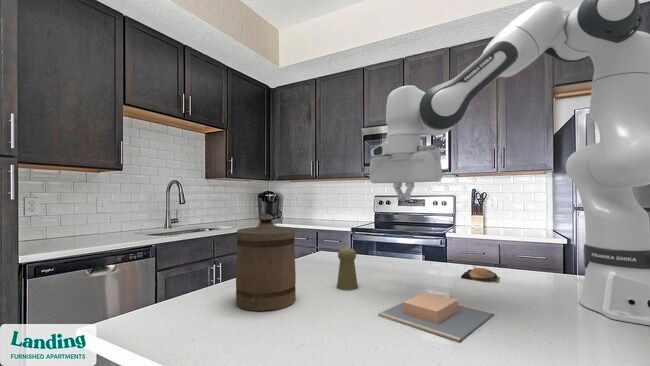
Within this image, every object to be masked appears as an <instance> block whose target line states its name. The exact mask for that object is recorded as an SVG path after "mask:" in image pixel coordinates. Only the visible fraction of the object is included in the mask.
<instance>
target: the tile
mask: <svg viewBox="0 0 650 366" xmlns="http://www.w3.org/2000/svg"><path fill="white" fill-rule="evenodd" d="M402 303H403V314H407V315H410V316H413V317H416V318H420V319H423V320H426V321H429V322H433V323H436V324H438V323H440V322H441V321H443V320H444V319H446V318H448V317H449V316H451V315H452V314H454V313H456V312H457V311H458V304H459V300H458V299H457V298H452V297H448V296H444V295H439V294H435V293H431V292H428V291H424V292H422V293H420V294H417V295H416V296H414V297H411V298H409V299H407V300H405V301H403V302H402Z"/></svg>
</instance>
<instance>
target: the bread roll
mask: <svg viewBox="0 0 650 366" xmlns="http://www.w3.org/2000/svg"><path fill="white" fill-rule="evenodd" d="M500 277H501V276H499V275H497V273H495V272H494V271H492V270H490V269H487V268H483V267H475V268H473V269H468V270H466V271H464V273H462V274H461V276H460V279H461V280H466V281H467V280H468V281H476V282H481V283H482V282H484V283H493V284H499V283H500Z"/></svg>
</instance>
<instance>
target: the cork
mask: <svg viewBox="0 0 650 366" xmlns="http://www.w3.org/2000/svg"><path fill="white" fill-rule="evenodd" d="M356 257H357V252H356V250H355V249H354V248H349V247H345V248H341V249H339V250H338V252H337V258H338V259H339V265H338V266H339V267H338V272H337V273H338V275H337V282H336V283H337V284H336V288H337V289H338V290H342V291H355V290H357V289H358V287H359V286H358V279H357V272H356V271H357V270H356V265H355V260H356Z"/></svg>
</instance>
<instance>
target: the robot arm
mask: <svg viewBox="0 0 650 366" xmlns="http://www.w3.org/2000/svg"><path fill="white" fill-rule="evenodd" d="M640 13H641V4H640V1H639V0H582V2H581V3H580V4H579V5H577V7H575V8H574V9H573V10H572V11H571V10H564V8H563V7H562V6H561V5H560V4H558V3H556V2H554V1H548V0H547V1H541V2H538V3H536V4H534V5H533V6H532V7H529V8H528V9H527V10H525V11H523V12H522V13H521V14H520V15H517V17H515V18H514V19H513V20H511V22H509V23H508V24H507V25H506V26H505V27H503V28H502V29H501V30H500V31H499V32H498V33H497V34H495V36H493V38H492V39H491V41H490V42H489V43H488V44H487V46H485V48H484V49H483V52H482V54H481V55H480V56H479V57H478V58H476V60H474V61H472V63H471V64H469V66H468V65H467V67H465V69H464V70H463V71H462V72H460V73H459V74H458V75H457V76H455V77H454V78H452V79H450V80H448V81H445V82H443V83H440V84H436V85H434V86H433V87H431V88H429V89H428V90H427V91H426V92H425V91H423V90H422V89H419V88H418V87H417V86H416V85H413V84H411V85H409V84H408V85H402V86H399V87H397V88H395V89H393V90H392V91H391V92H390V93H389V95H388V96H387V99H386V100H387V101H386V107H385V111H386V112H385V123H386V127H387V133H386V137H385V140H386V141H384V142H381V144H379V145H377V146H376V147H373V148H372V149H371V150H370V157H372V158H371V160H370V163H369V180H370V181H371V183H372V184H392V185H393V187H392V188H393V189H394V191H395V192H396V194H397V197H396V198H397V199H396V200H398V201H411V193H412V192H413V190H414V188H415V183H437V182H438V183H440V182H441V180H442V179H443V167H442V163H441V159H442V150H441V149H440V148H439V147H438V146H436V145H435V144H429V145H421V134H423V135H427V136H428V135H429V136H430V135H431V136H440V135H444V134H446V133H448V132H449V131H450V130H451V129H452V128H453V127H454V126H455V125H457V124H458V123H459V122H460V121H461V120H462V119H463V117H464V115H465V113H466V112H467V109H468V107H469V105H470V103H471V101H472V100H473V99H474V98H475V97H476V96H477V95H479V94H480V93H481V92H482V91H483V90H485V89H486V88H487V87H488V86H489V85H490V84H492V83H493V82H494V81H495V80H497V79H498V78H500V77H501V78H511V77H513V76H514V75H516V74H518V73H519V72H521V71H522V70H524V69H525V68H527V67H528V66H529V65H531V64H532V63H533V62H534V61H535V60H537V58H539V57H540V56H541V55H543V53H544V54H546V55H548V56H549V57H550V58H551V59H552V60H554V61H555V62H557V63H560V64H563V65H565V64H566V65H567V64H568V65H569V64H574V63H579V62H580V61H581V62H582V61H583V60H585V59H587V58H588V57H589V58H590V59H591V61H592V64H593V71H594V72H593V76H592V81H591V83H592V84H591V91H590V92H591V93H590V100H589V101H590V102H589V109H588V110H589V111H588V112H589V114H588V115H589V117H590V118H591V120H593V122H595V123H596V126H597V129H598V132H599V142H597V143H593V144H592V143H591V144H589V145H586V146H583V147H581V148H579V149H578V150H576V151H574V152H573V153H572V154H570V156H569V157H568V158H567V160H566V162H565V172H566V175H568V177H569V179H571V181H572V182H573V183H574V185H575V187H576V189H577V191H578V195H579V198H580V202H581V204H582V208H583V212H584V228H585V244H584V245H583V248H582V250H583V251H582V254H583V255H582V256H583V259H582V260H583V265H584V268H585V270H584V272H585V273H584V281H583V286H582V289H581V290H582V291H581V293H580V296H579V299H578V302H579V304H580V305H582V306H584V307H585V308H587V309H589V310H592V311H594V312H598V313H600V314H602V315H604V316H605V317H606V318H609V319H612V320H616V321H621V322H628V323H632V324H633V323H634V324H639V325H646V326H650V216H649V213H648V212H647V211H646V210H645V209H644V208H643V207H642V206H641V205H640V204H639V203H638V201H637V199H636V198H635V195H634V193H633V190H632V188H634V187H637V188H638V187H644V186H648V185H650V33H648V32H647V31H646V32H645V31H641V30H640V31H639V29H640V27H641V24H642V21H643V17H642V15H641V14H640ZM403 184H405V188H406V189H405V192H403V190H402V188H403Z"/></svg>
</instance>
